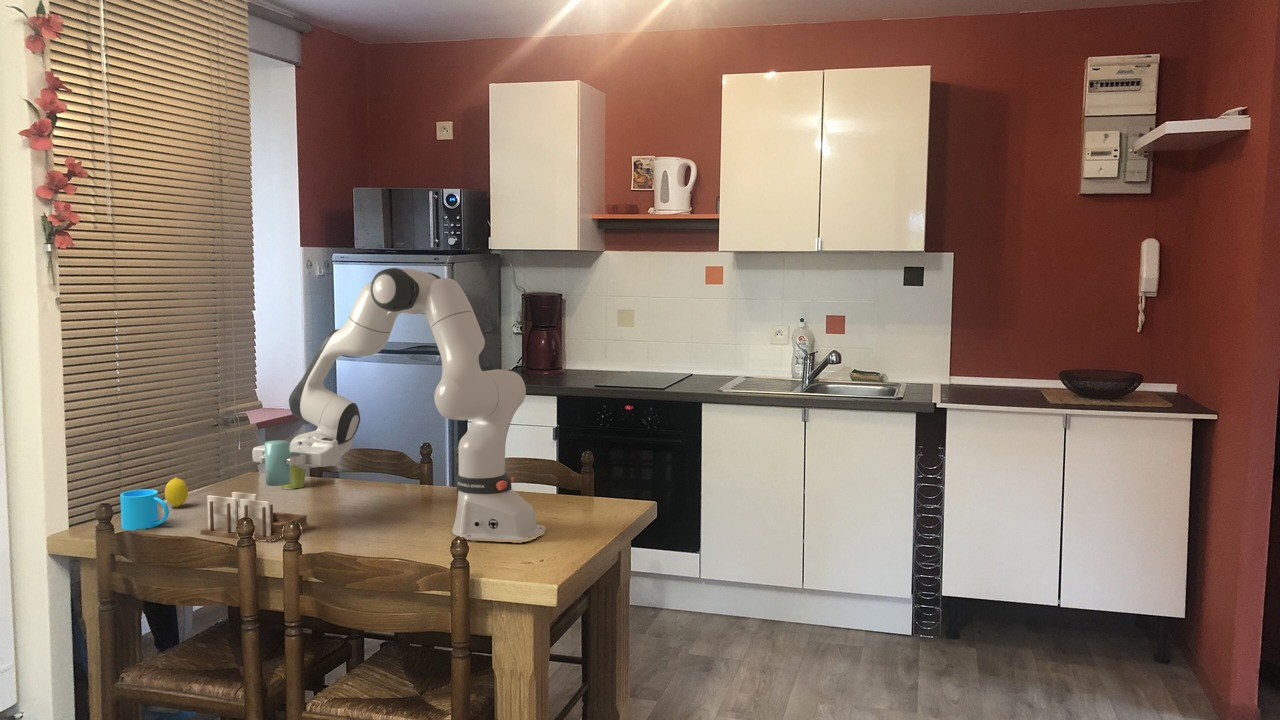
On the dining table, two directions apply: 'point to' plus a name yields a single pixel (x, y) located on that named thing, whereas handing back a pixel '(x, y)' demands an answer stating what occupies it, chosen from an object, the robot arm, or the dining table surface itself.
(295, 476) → the plant pot
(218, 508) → the rack
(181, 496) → the lemon
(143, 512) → the mug
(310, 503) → the dining table surface
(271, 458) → the teal glossy cylinder
